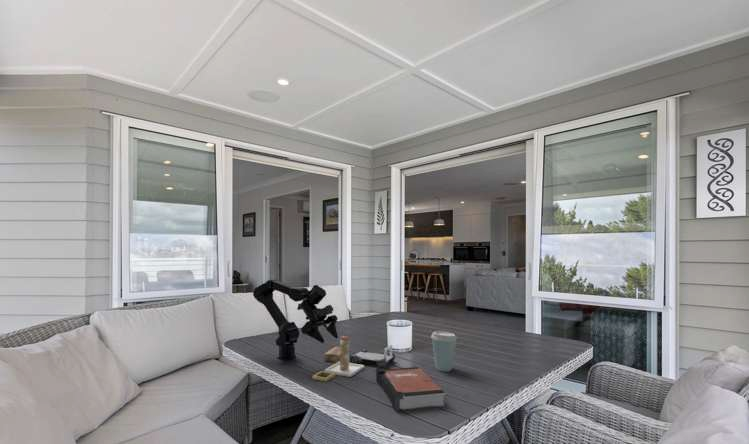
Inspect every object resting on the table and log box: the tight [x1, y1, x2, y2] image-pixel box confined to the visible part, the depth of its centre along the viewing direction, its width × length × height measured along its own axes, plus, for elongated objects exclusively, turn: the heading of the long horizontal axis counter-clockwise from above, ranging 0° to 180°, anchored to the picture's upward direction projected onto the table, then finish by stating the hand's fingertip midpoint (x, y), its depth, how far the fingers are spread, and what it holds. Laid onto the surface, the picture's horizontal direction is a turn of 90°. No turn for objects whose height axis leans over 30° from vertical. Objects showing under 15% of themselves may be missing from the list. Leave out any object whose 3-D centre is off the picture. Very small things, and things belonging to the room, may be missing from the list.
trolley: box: [349, 344, 396, 369], centre depth 162 cm, size 17×12×8 cm
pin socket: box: [311, 370, 336, 383], centre depth 143 cm, size 6×6×1 cm
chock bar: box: [323, 346, 340, 363], centre depth 170 cm, size 7×12×4 cm, turn 162°
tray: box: [323, 361, 365, 378], centre depth 152 cm, size 12×12×1 cm
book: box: [375, 366, 446, 412], centre depth 129 cm, size 26×18×5 cm
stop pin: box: [339, 335, 350, 371], centre depth 152 cm, size 4×4×13 cm
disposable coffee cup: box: [430, 331, 458, 372], centre depth 154 cm, size 11×11×15 cm
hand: (330, 340), depth 157 cm, fingers open, 9 cm apart
